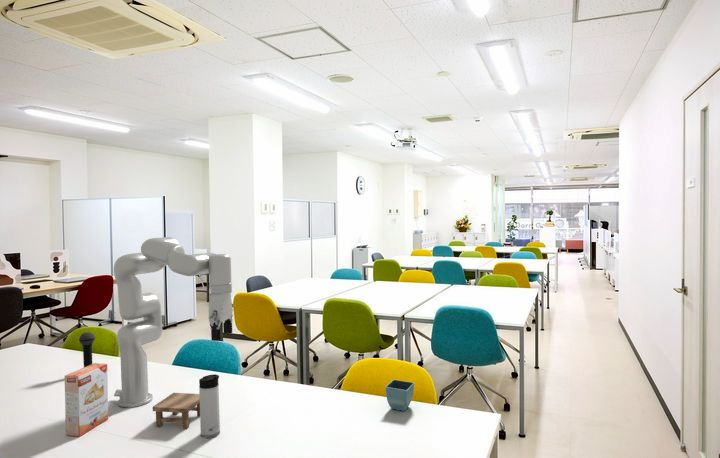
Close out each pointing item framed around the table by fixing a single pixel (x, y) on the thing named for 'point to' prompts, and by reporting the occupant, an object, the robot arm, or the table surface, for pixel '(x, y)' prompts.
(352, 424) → the table surface
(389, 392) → the flower pot
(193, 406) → the stool
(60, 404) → the table surface
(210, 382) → the travel mug
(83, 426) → the cracker box
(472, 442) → the table surface
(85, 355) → the microphone
